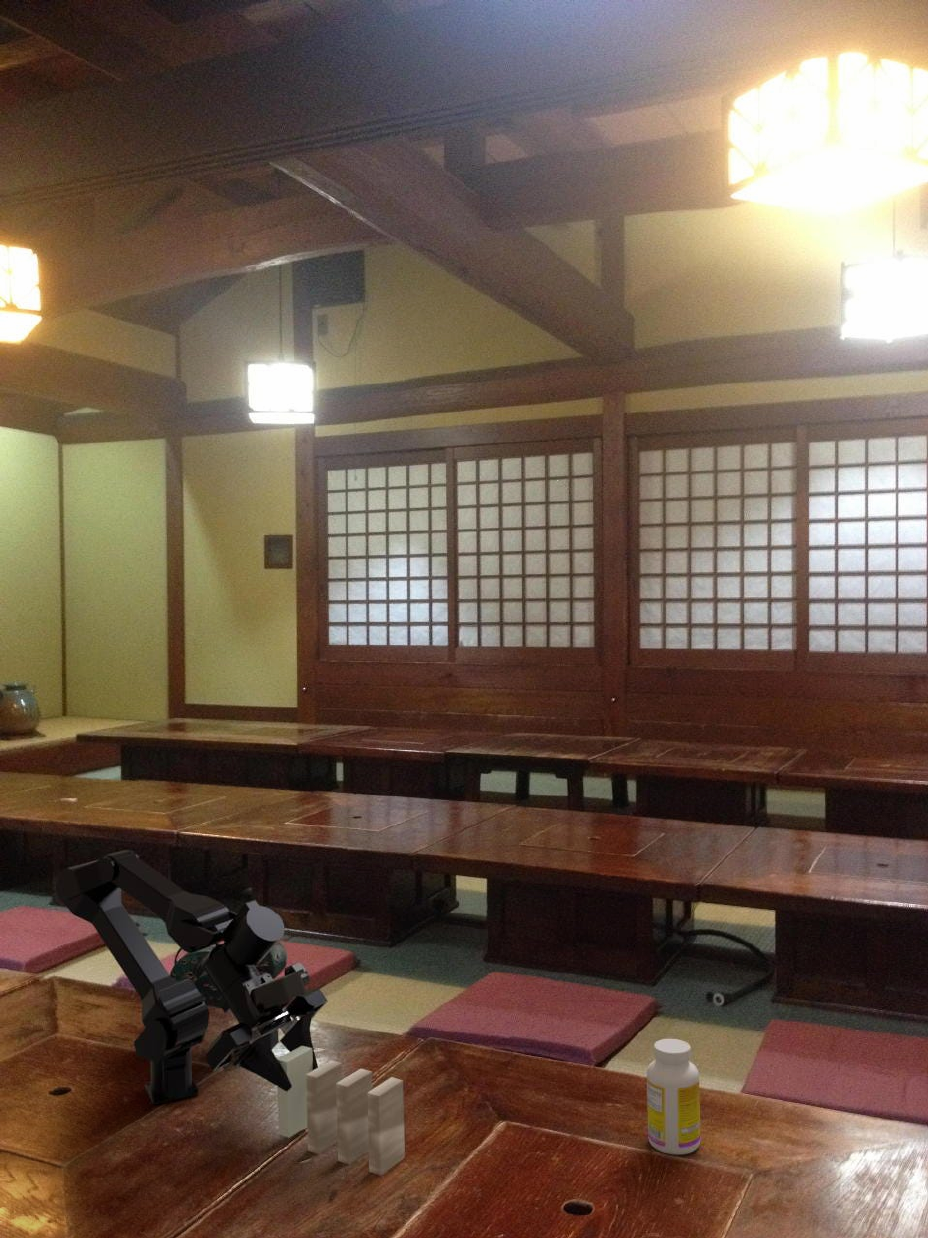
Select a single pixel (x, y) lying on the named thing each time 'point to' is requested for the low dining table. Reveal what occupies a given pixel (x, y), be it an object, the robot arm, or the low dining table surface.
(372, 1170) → the ivory domino
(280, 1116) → the sage domino
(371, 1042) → the low dining table surface
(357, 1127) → the ivory domino
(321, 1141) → the ivory domino
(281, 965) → the ceramic cat
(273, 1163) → the low dining table surface
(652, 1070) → the supplement bottle
